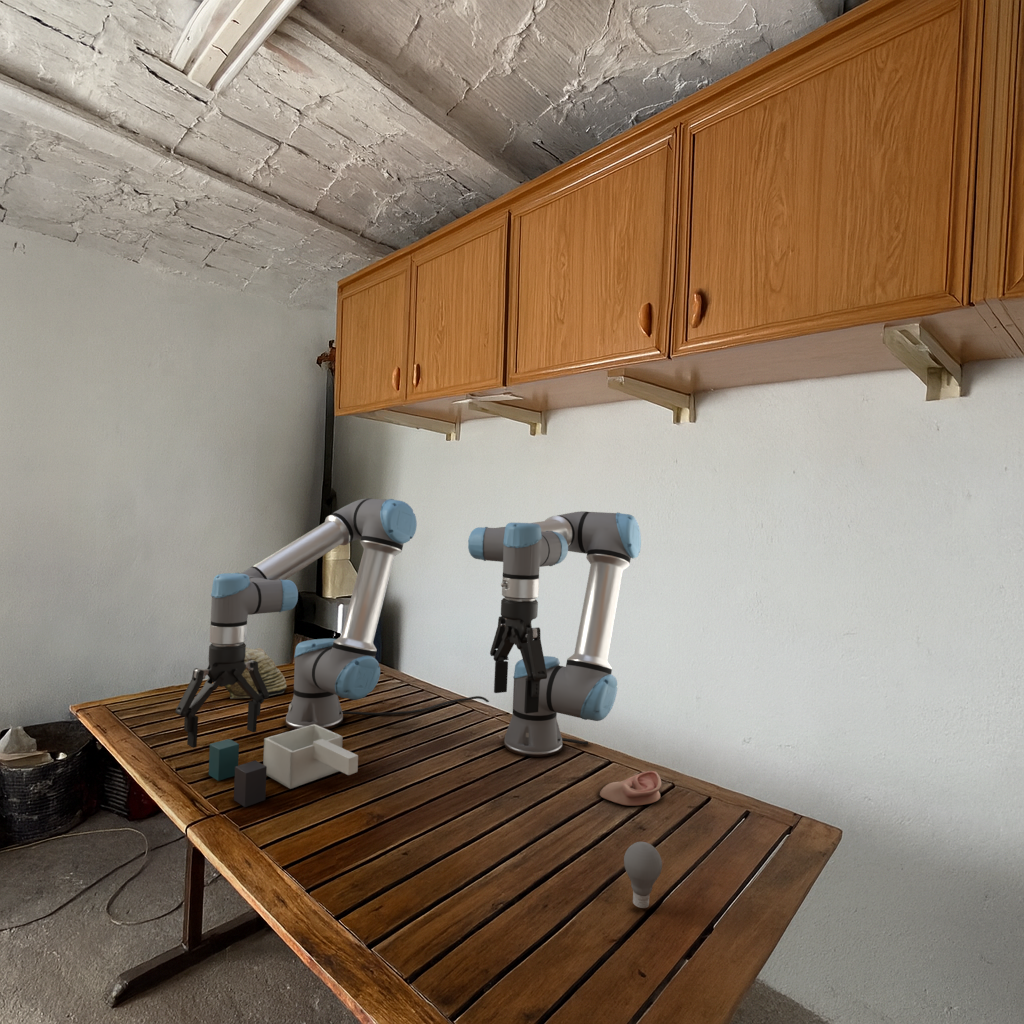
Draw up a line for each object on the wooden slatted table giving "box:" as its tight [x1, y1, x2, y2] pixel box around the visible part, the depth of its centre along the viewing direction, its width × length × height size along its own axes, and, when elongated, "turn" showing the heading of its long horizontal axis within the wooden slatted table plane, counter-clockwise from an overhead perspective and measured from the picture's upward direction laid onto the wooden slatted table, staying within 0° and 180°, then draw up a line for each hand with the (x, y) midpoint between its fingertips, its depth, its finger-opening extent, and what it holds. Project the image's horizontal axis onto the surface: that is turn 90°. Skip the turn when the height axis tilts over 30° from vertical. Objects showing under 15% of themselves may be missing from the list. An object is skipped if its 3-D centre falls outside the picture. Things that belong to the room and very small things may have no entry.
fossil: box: [223, 646, 288, 699], centre depth 198 cm, size 9×18×15 cm, turn 132°
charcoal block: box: [233, 760, 267, 808], centre depth 131 cm, size 4×4×7 cm
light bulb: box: [623, 841, 663, 909], centre depth 102 cm, size 6×6×10 cm
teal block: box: [208, 738, 240, 782], centre depth 142 cm, size 4×4×7 cm
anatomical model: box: [599, 770, 662, 806], centre depth 141 cm, size 13×4×12 cm
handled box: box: [262, 724, 359, 790], centre depth 141 cm, size 13×24×9 cm, turn 51°
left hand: (222, 738), depth 142 cm, fingers open, 13 cm apart
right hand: (515, 701), depth 130 cm, fingers open, 13 cm apart
